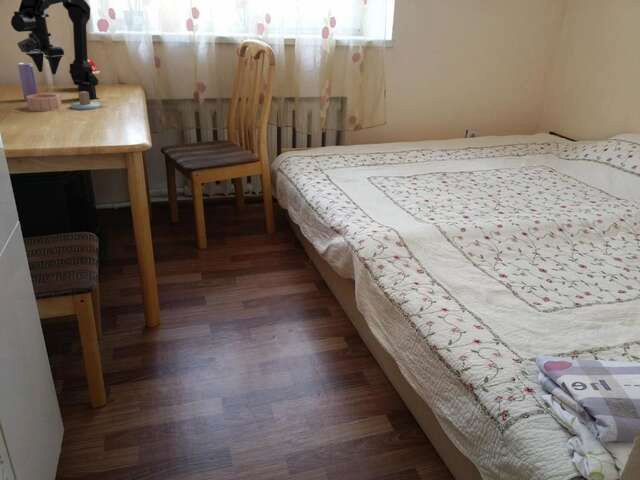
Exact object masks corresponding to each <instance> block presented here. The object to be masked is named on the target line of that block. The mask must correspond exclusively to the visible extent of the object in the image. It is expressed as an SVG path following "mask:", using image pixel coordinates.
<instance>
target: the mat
mask: <svg viewBox="0 0 640 480" xmlns="http://www.w3.org/2000/svg"><path fill="white" fill-rule="evenodd" d="M102 108H106V105H105V106H104V105H100V108H99V109H102ZM65 109H68V110H73V111H79V112H83V111H85V110H76V109H72V108H71V106H68V107H65Z"/></svg>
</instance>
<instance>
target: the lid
mask: <svg viewBox="0 0 640 480" xmlns="http://www.w3.org/2000/svg"><path fill="white" fill-rule="evenodd" d="M77 94H79V95H78V98H79V99H78V100H79V102H73V103H71V104H70V107H71V108H72V109H71V110H73V109H76V110H75V111H78V110H84V111H90V110H96V109H101V108H100V106H101V103H100V102H96V101H91V100H90V97H89V92H86V91H83V92H78V91H77Z"/></svg>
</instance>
